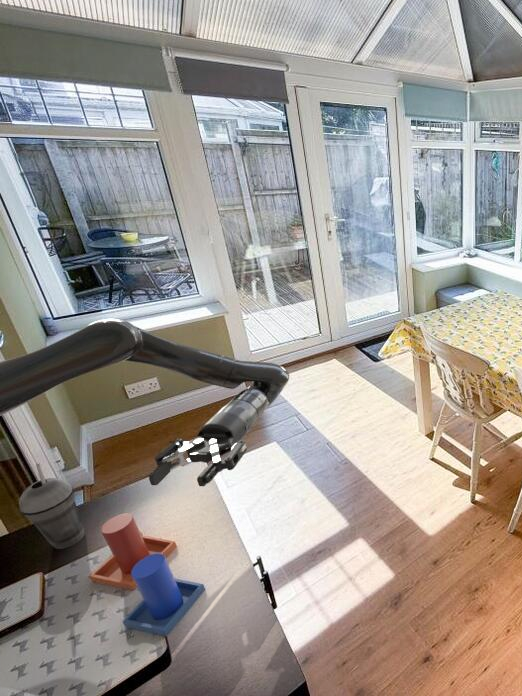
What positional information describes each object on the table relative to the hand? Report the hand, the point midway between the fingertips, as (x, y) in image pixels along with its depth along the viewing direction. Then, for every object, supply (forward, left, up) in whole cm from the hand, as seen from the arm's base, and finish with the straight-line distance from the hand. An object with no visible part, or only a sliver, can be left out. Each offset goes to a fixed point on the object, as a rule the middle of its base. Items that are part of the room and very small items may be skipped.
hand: (176, 482), depth 74 cm
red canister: (-11, -4, -19) cm, 23 cm away
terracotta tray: (-11, -4, -20) cm, 23 cm away
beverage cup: (-29, -2, -20) cm, 35 cm away
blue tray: (+2, -10, -20) cm, 22 cm away
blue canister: (+2, -10, -19) cm, 22 cm away
